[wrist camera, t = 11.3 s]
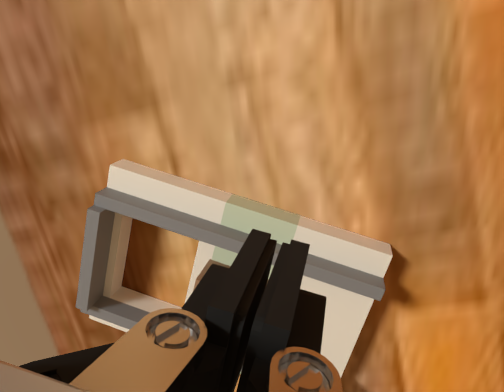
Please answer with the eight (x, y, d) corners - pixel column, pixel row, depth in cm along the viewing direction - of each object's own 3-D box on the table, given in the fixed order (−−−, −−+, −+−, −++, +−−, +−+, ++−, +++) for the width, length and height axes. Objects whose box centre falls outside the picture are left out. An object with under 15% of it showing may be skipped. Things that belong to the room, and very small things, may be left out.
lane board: (389, 244, 39) (396, 272, 34) (329, 388, 45) (327, 431, 40) (123, 158, 42) (92, 172, 37) (101, 305, 48) (72, 335, 43)
